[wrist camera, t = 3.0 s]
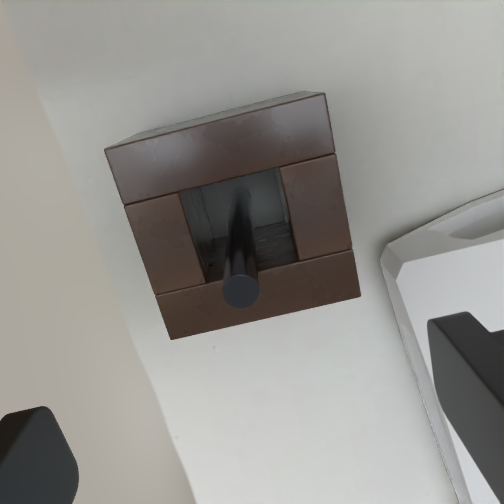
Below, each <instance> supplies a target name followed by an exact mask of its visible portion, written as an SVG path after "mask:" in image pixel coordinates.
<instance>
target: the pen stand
mask: <svg viewBox="0 0 504 504" xmlns="http://www.w3.org/2000/svg"><path fill="white" fill-rule="evenodd" d="M104 151H105V154H106V157H107V160H108V163H109V166H110V169H111V171H112V174H113V177H114V180H115V183H116V186H117V188H118V191H119V194H120V197H121V200H122V203H123V204H124V209H125V212H126V215H127V217H128V220H129V223H130V226H131V229H132V232H133V234H134V237H135V240H136V243H137V246H138V249H139V252H140V254H141V257H142V260H143V263H144V266H145V269H146V272H147V274H148V277H149V280H150V283H151V286H152V289H153V292H154V294H155V297H156V300H157V303H158V306H159V309H160V311H161V314H162V317H163V320H164V323H165V326H166V329H167V331H168V334H169V337H170V339H171V340H174V339H178V338H183V337H187V336H191V335H196V334H200V333H205V332H209V331H213V330H218V329H222V328H226V327H231V326H235V325H240V324H244V323H248V322H253V321H257V320H261V319H266V318H270V317H275V316H279V315H283V314H288V313H292V312H296V311H301V310H305V309H310V308H314V307H318V306H323V305H327V304H331V303H336V302H340V301H345V300H349V299H353V298H358V297H361V292H360V286H359V280H358V275H357V269H356V263H355V258H354V252H353V249H352V241H351V235H350V230H349V224H348V219H347V213H346V207H345V202H344V196H343V190H342V185H341V179H340V173H339V168H338V162H337V157H336V154H335V145H334V140H333V134H332V128H331V123H330V117H329V111H328V106H327V100H326V94H325V93H321V92H305V91H301V92H298V93H294V94H290V95H286V96H282V97H278V98H274V99H270V100H266V101H263V102H259V103H255V104H251V105H247V106H243V107H239V108H235V109H231V110H227V111H224V112H220V113H216V114H212V115H208V116H204V117H200V118H196V119H192V120H189V121H185V122H181V123H177V124H173V125H169V126H165V127H161V128H157V129H154V130H150V131H146V132H142V133H138V134H136V135H134V136H132V137H129V138H127V139H125V140H123V141H121V142H118V143H116V144H114V145H112V146H110V147H107V148H105V149H104ZM273 168H274V172H275V176H276V180H277V185H278V189H279V194H280V198H281V203H282V207H283V211H284V216H285V220H286V221H285V222H281V223H277V224H273V225H269V226H265V227H260V228H256V229H254V235H255V245H256V256H257V266H258V276H259V286H260V295H259V298H258V299H257V301H256V302H255V303H254V304H253V305H251V306H249V307H247V308H235V307H233V306H231V305H229V304H228V303H227V302H226V301H225V299H224V297H223V294H222V287H223V276H224V264H225V253H226V242H227V236H223V237H219V238H215V239H213V238H214V237H213V234H212V230H211V227H210V223H209V220H208V216H207V213H206V209H205V206H204V202H203V199H202V195H201V192H200V188H199V187H200V186H204V185H208V184H212V183H216V182H220V181H224V180H228V179H232V178H236V177H240V176H244V175H248V174H252V173H257V172H261V171H265V170H269V169H273Z"/></svg>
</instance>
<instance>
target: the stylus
mask: <svg viewBox="0 0 504 504" xmlns="http://www.w3.org/2000/svg"><path fill="white" fill-rule="evenodd" d="M222 294H223V297H224V299H225V301H226V302H227V303H228V304H229V305H231V306H233V307H235V308H247V307H249V306H251V305H253V304H254V303H255V302H256V301H257V299H258V298H259V295H260V286H259V276H258V266H257V256H256V245H255V235H254V225H253V215H252V204H251V196H250V193H249V192H248V191H247V190H245V189H243V188H239V189H236V190H234V191H233V192H232V194H231V197H230V208H229V219H228V230H227V242H226V253H225V264H224V276H223V287H222Z"/></svg>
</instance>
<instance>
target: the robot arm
mask: <svg viewBox="0 0 504 504" xmlns="http://www.w3.org/2000/svg"><path fill="white" fill-rule="evenodd" d="M427 334H428V341H429V349H430V356H431V364H432V371H433V379H434V385H435V390H436V394H437V397H438V400H439V402H440V405H441V407H442V410H443V412H444V414H445V415H446V417H447V419H448V420H449V422H450V424H451V425H452V427H453V428H454V430H455V432H456V433H457V435H458V436H459V438H460V440H461V441H462V443H463V444H464V446H465V448H466V449H467V451H468V453H469V454H470V456H471V457H472V459H473V461H474V462H475V464H476V465H477V467H478V469H479V470H480V472H481V473H482V475H483V477H484V478H485V480H486V481H487V483H488V485H489V486H490V488H491V490H492V491H493V493H494V494H495V496H496V498H497V499H498V501H499V502H500V504H504V330H499V331H495V332H489V331H488V330H487V329H486V328H485V327H484V326H483V325H482V324H481V323H480V322H479V321H478V320H477V319H476V318H475V317H474V316H473V315H472V314H471V313H470V312H468V311H464V312H460V313H455V314H451V315H446V316H442V317H437V318H433V319H429V320H428V322H427ZM78 482H79V473H78V466H77V463H76V460H75V458H74V456H73V454H72V451H71V449H70V447H69V445H68V443H67V441H66V439H65V437H64V435H63V433H62V431H61V429H60V427H59V425H58V423H57V421H56V419H55V417H54V415H53V413H52V411H51V410H50V409H49V408H47V407H45V406H40V407H36V408H32V409H28V410H23V411H18V412H14V413H9V414H7V415H5V416H4V417H3V418H2V419H1V421H0V504H72V502H73V500H74V498H75V495H76V492H77V488H78Z"/></svg>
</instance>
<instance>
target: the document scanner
mask: <svg viewBox="0 0 504 504" xmlns="http://www.w3.org/2000/svg"><path fill="white" fill-rule="evenodd" d="M380 264H381V267H382V271H383V274H384V278H385V281H386V285H387V288H388V292H389V295H390V299H391V302H392V306H393V309H394V313H395V316H396V320H397V324H398V327H399V331H400V334H401V337H402V340H403V343H404V346H405V349H406V352H407V355H408V358H409V361H410V364H411V367H412V370H413V373H414V376H415V379H416V382H417V385H418V388H419V391H420V394H421V397H422V400H423V403H424V406H425V409H426V412H427V415H428V418H429V421H430V424H431V427H432V430H433V433H434V436H435V439H436V442H437V445H438V448H439V451H440V454H441V457H442V460H443V463H444V466H445V469H446V471H447V473H448V476H449V478H450V480H451V482H452V484H453V486H454V489H455V492H456V495H457V497H458V500H459V503H460V504H500V502H499V501H498V499H497V498H496V496H495V494H494V493H493V491H492V490H491V488H490V486H489V485H488V483H487V481H486V480H485V478H484V477H483V475H482V473H481V472H480V470H479V469H478V467H477V465H476V464H475V462H474V461H473V459H472V457H471V456H470V454H469V453H468V451H467V449H466V448H465V446H464V444H463V443H462V441H461V440H460V438H459V436H458V435H457V433H456V432H455V430H454V428H453V427H452V425H451V424H450V422H449V420H448V419H447V417H446V415H445V414H444V412H443V410H442V407H441V405H440V402H439V400H438V397H437V394H436V390H435V385H434V379H433V371H432V364H431V356H430V349H429V341H428V334H427V322H428V320H429V319H433V318H437V317H442V316H446V315H451V314H455V313H460V312H464V311H468V312H470V313H471V314H472V315H473V316H474V317H475V318H476V319H477V320H478V321H479V322H480V323H481V324H482V325H483V326H484V327H485V328H486V329H487V330H488V331H489V332H495V331H499V330H504V189H503V190H501V191H498V192H495V193H493V194H490V195H488V196H485V197H482V198H480V199H477V200H475V201H472V202H469V203H467V204H465V205H463V206H461V207H459V208H457V209H455V210H453V211H451V212H449V213H447V214H445V215H443V216H441V217H439V218H437V219H435V220H433V221H432V222H430V223H428V224H426V225H424V226H422V227H420V228H418V229H416V230H414V231H412V232H410V233H408V234H406V235H404V236H402V237H400V238H398V239H396V240H394V241H392V242H390V243H388V244H387V245H386V247H385V250H384V252H383V254H382V257H381V259H380Z"/></svg>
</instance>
